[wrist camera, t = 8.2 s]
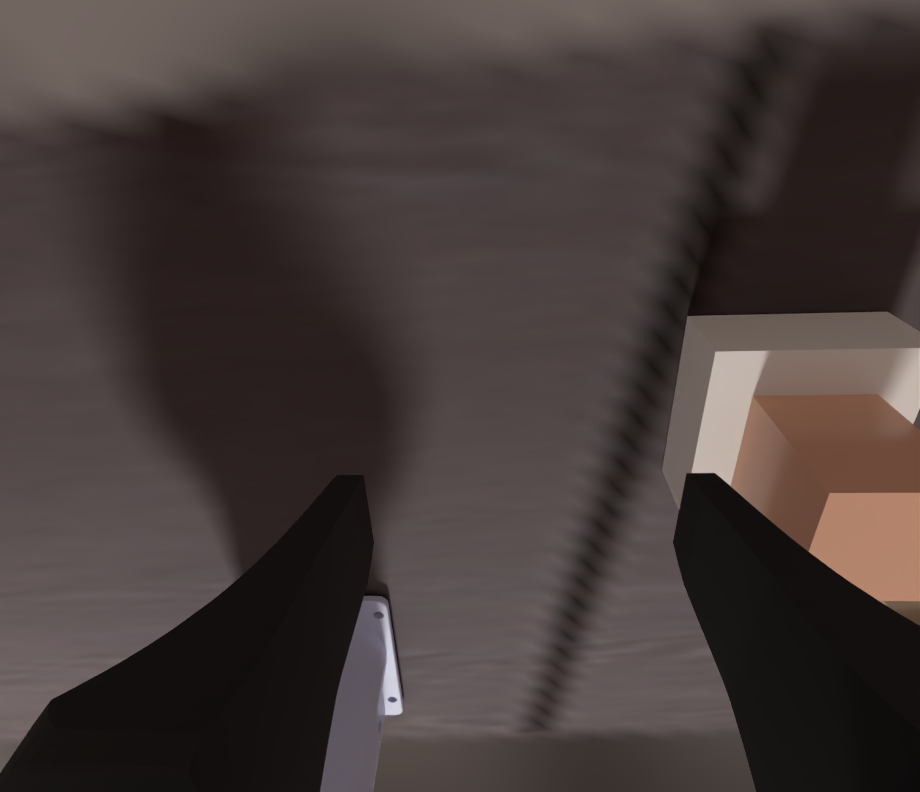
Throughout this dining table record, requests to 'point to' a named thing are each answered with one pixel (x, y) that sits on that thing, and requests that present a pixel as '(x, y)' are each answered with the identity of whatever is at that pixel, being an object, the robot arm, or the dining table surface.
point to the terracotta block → (839, 484)
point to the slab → (778, 376)
